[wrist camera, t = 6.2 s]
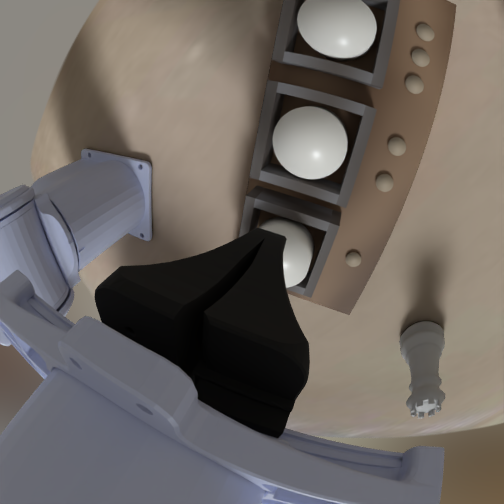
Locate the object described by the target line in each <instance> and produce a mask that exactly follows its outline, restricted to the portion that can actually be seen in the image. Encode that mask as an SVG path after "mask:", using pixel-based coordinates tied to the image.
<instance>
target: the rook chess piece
mask: <svg viewBox="0 0 504 504" xmlns="http://www.w3.org/2000/svg"><path fill="white" fill-rule="evenodd" d="M399 342H400V347H401V348H400V350H401V354H402V357H403V358H404V359H405V360H406V363H407V364H408V365H409V367H410V372H411V384H410V386H409V389H410V391H412V394H411V396H410V397H409V398H408V400H407V402H406V405H407V407H408V408H409V409H410V412H411V416H413V417H415V416H416V413H418V418H424V413H427V412H429V417H430V416H433V415H435V409H436V412H439V411H440V410H441V403H442V402H443V401H444V399H445V393H444V392H443V391H442V390H440V388H439V386H440V385H441V378H440V377H439V373H438V371H439V359H440V357H441V355H442V351H443V349H444V345H445V341H444V330H443V329H442V328H441V327H440V325H438V324H435V323H433V322H431V321H422V322H418V323H415V324H413V325H411V326H410V327H408V329H407V330H406V331H405V332H404V333H403V334H402V335H401V338H400V341H399Z"/></svg>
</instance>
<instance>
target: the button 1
mask: <svg viewBox="0 0 504 504" xmlns="http://www.w3.org/2000/svg"><path fill="white" fill-rule="evenodd" d="M259 228H261V229H264V230H267V231H271V232H274V233H277V234H280V235H283V236H285V237H286V239H287V240H286V244H285V248H284V252H283V269H284V278H285V284H286V288H288V287H292V286H295V285H297V284H299V283H300V282H301V281H302V280H303V279H304V278H305V276H306V274H307V272H308V269H309V266H310V263H311V260H312V256H313V253H314V241H313V238H312V236H311V234H310V232H309V231H308V230H307V228H306V227H305V226H303V225H302V224H301V223H299V222H297V221H294V220H291V219H288V218H285V217H274V218H271V219H268V220H266V221H265V222H263V223H262V224H261V225H260V226H259Z"/></svg>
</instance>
